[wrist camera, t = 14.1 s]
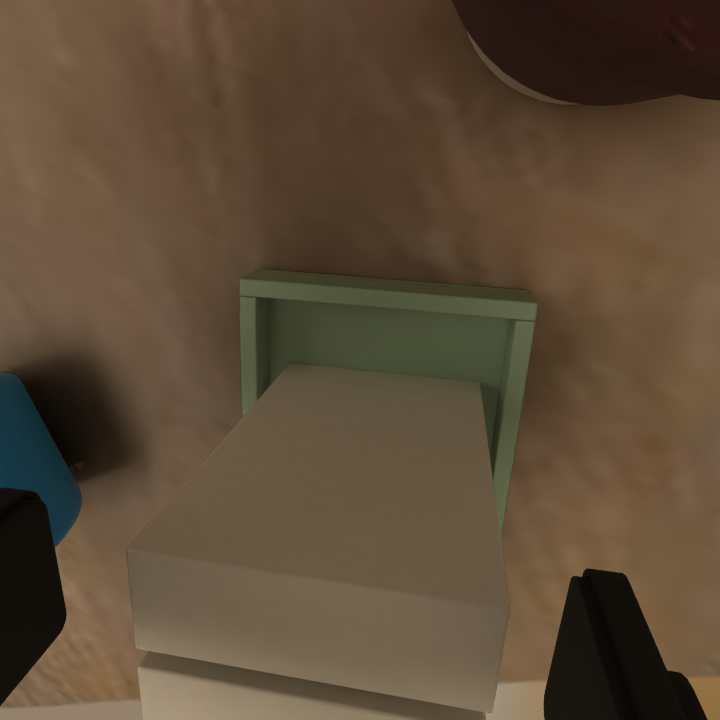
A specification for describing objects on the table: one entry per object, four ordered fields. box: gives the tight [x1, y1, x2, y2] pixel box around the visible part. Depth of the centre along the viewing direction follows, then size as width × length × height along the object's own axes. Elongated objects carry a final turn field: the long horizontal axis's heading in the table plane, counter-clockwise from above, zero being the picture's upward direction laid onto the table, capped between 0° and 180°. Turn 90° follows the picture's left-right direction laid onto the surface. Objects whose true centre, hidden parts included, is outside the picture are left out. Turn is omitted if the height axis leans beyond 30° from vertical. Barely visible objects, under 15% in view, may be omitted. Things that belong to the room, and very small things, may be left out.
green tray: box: [239, 269, 538, 537], centre depth 21 cm, size 13×10×2 cm
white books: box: [138, 651, 486, 720], centre depth 17 cm, size 5×7×11 cm
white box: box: [126, 363, 510, 713], centre depth 15 cm, size 2×7×11 cm, turn 87°
